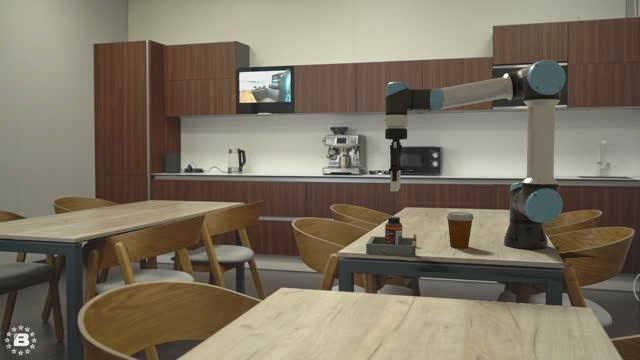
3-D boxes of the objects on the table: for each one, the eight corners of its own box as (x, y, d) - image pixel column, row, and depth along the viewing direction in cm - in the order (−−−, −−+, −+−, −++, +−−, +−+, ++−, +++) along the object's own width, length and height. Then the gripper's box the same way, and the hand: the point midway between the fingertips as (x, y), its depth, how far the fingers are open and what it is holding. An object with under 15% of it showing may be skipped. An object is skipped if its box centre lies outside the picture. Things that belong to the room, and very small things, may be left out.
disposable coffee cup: (440, 245, 212) (441, 212, 212) (461, 243, 217) (462, 211, 216) (457, 249, 204) (457, 215, 203) (478, 248, 208) (479, 214, 207)
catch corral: (416, 246, 210) (416, 234, 210) (415, 255, 192) (415, 241, 192) (370, 244, 213) (371, 232, 212) (366, 252, 195) (366, 239, 195)
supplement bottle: (381, 249, 203) (381, 216, 202) (392, 247, 207) (392, 215, 206) (394, 251, 198) (394, 218, 198) (405, 249, 202) (406, 217, 202)
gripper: (387, 129, 213) (386, 187, 214) (382, 126, 189) (381, 192, 190) (408, 129, 212) (407, 187, 213) (406, 126, 187) (405, 192, 189)
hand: (395, 190), depth 201 cm, fingers open, 13 cm apart
